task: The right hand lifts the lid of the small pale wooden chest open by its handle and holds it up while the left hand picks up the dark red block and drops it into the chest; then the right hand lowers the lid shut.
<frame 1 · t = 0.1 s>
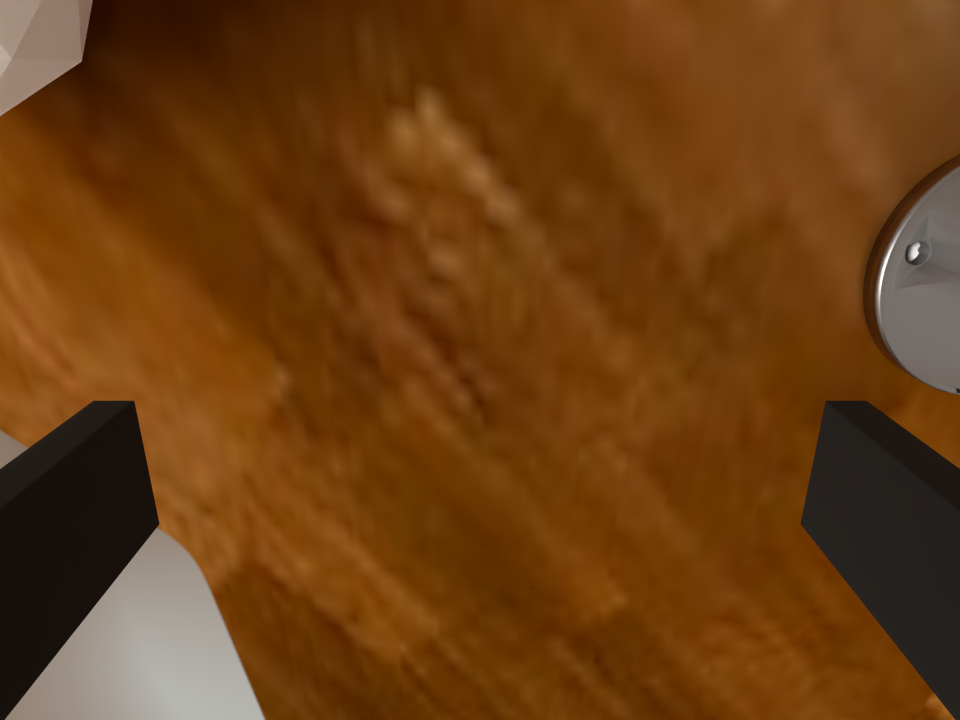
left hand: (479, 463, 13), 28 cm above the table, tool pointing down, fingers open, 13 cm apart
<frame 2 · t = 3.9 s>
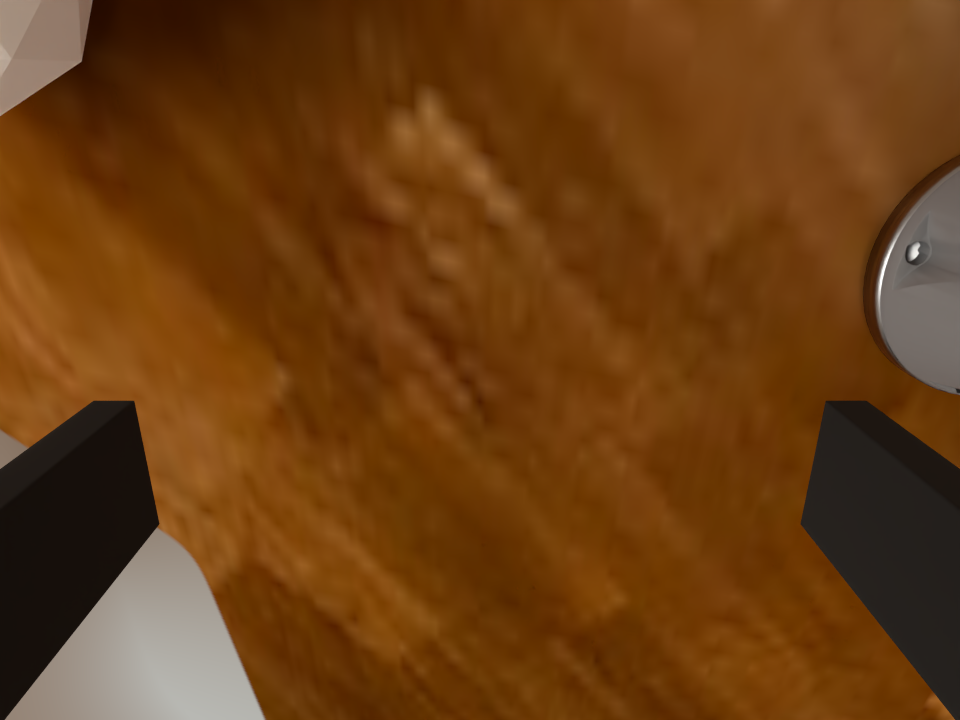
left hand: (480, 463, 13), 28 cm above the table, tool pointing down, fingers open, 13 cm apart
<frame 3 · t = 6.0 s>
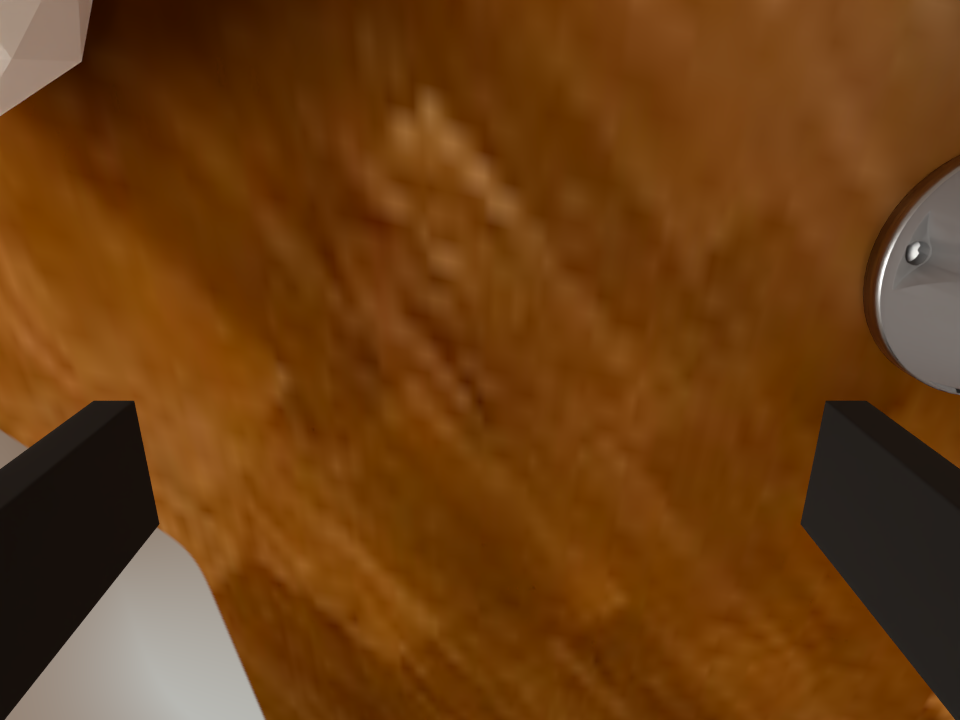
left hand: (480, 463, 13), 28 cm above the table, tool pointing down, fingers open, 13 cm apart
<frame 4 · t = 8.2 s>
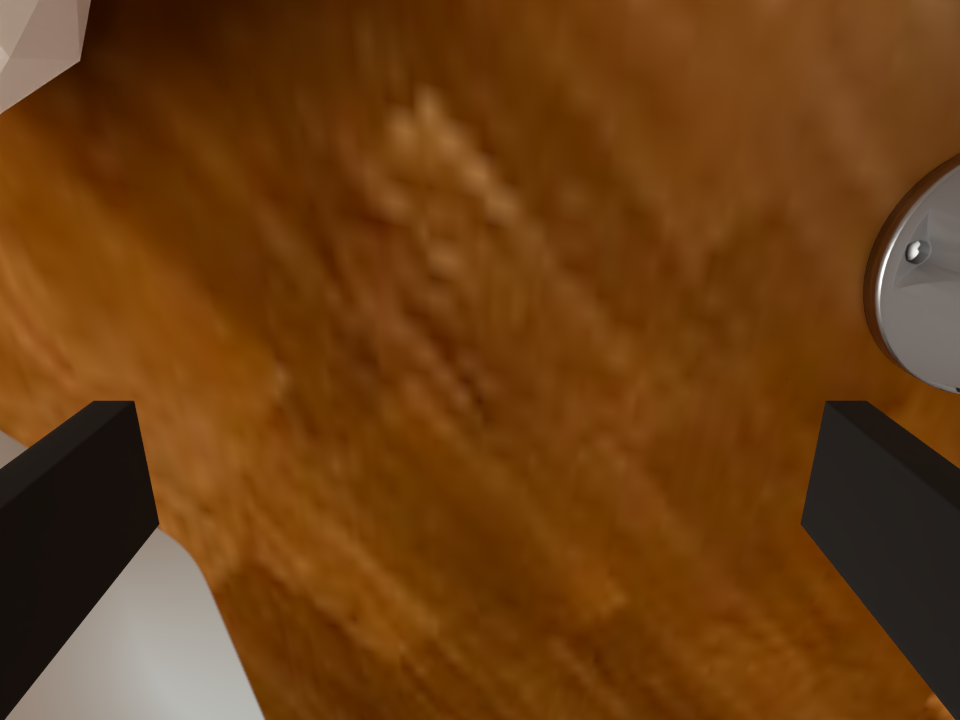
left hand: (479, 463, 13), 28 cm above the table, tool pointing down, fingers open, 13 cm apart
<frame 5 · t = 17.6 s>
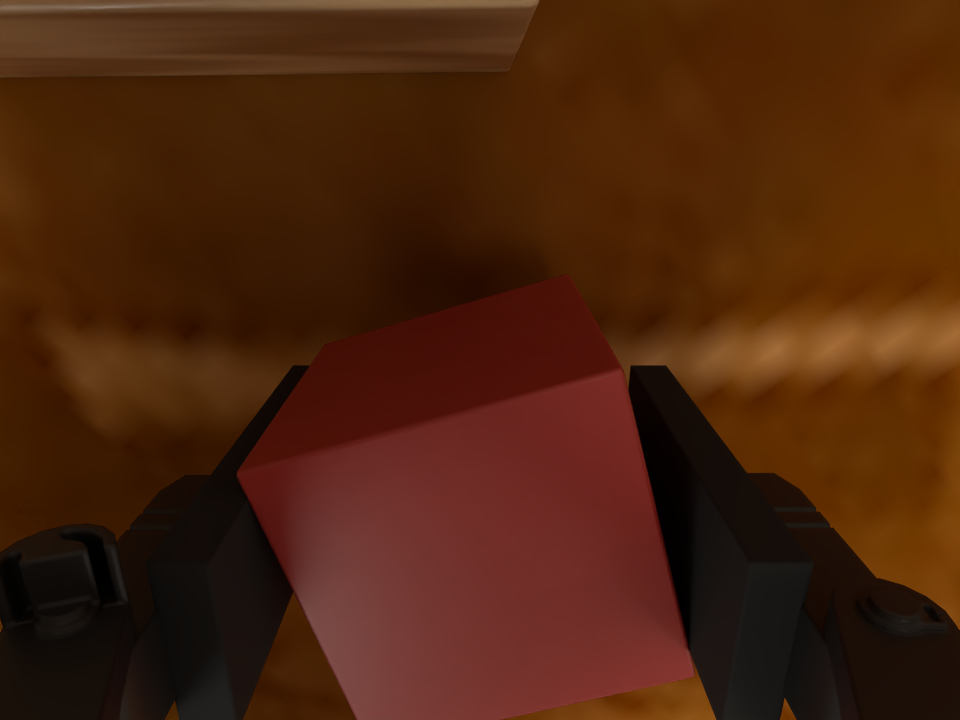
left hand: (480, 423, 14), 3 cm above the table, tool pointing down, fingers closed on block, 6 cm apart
block: (480, 420, 14), point 3 cm above the table, touching left hand
when the left hand's fingers open (17 cm above the table, at t = 20.8 s): block drops 16 cm, resting on chest.
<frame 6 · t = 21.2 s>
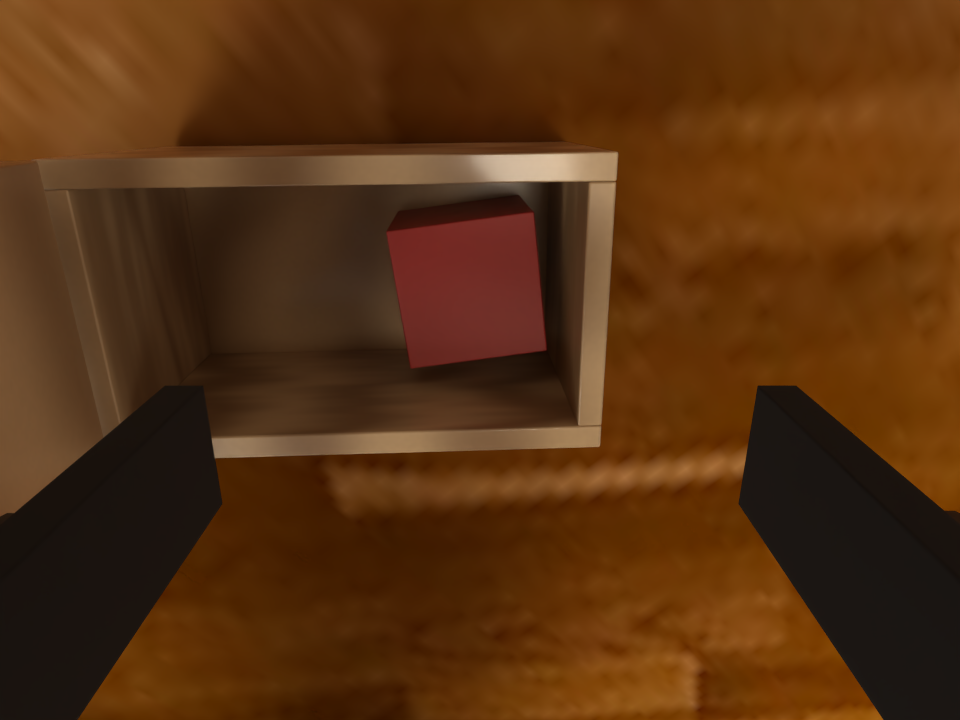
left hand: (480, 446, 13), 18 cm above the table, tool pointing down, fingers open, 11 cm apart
block: (466, 263, 29), point 1 cm above the table, touching chest
chest: (375, 258, 30), on the table, touching block
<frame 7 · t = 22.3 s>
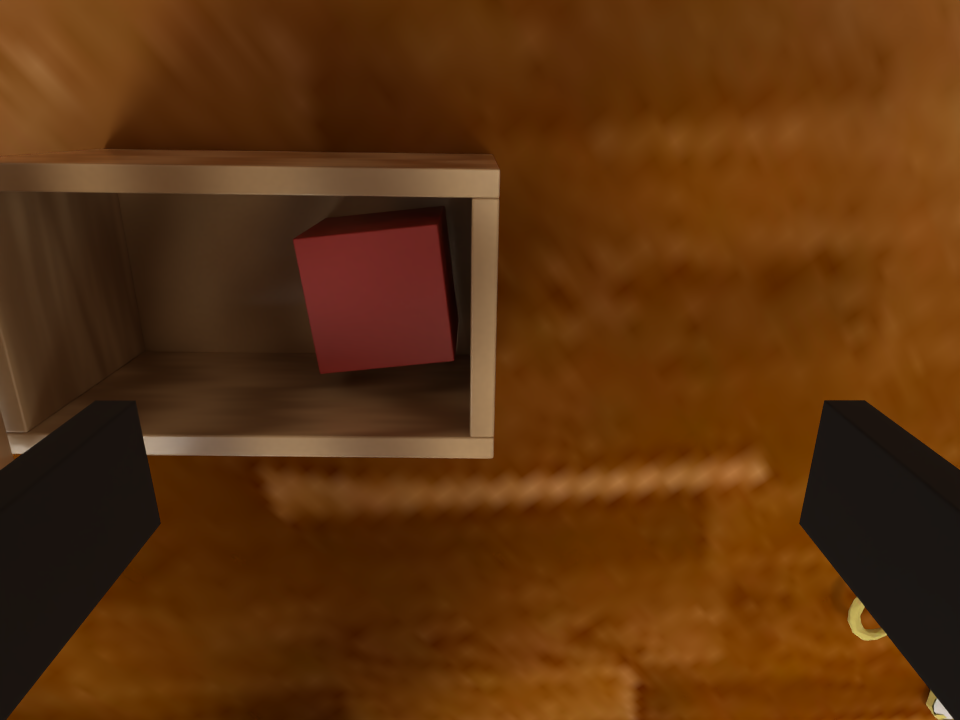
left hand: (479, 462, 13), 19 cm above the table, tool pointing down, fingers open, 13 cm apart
block: (393, 271, 30), point 1 cm above the table, touching chest
chest: (306, 263, 30), on the table, touching block
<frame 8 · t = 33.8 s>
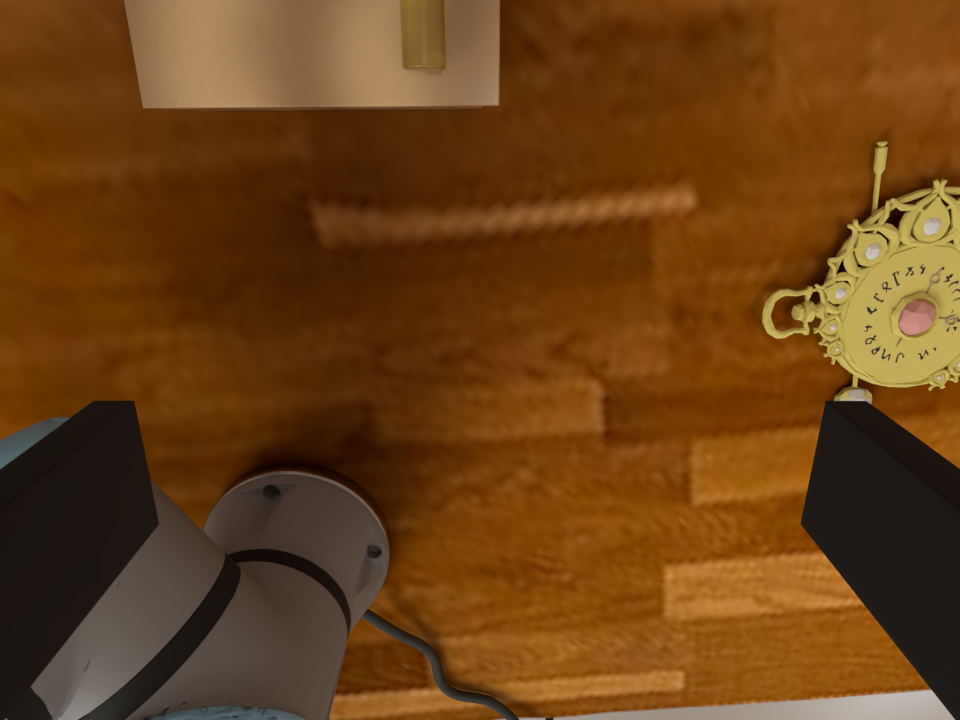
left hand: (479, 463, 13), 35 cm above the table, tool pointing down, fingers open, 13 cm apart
decorative object: (891, 286, 47), on the table
chest: (345, 25, 41), on the table, touching block
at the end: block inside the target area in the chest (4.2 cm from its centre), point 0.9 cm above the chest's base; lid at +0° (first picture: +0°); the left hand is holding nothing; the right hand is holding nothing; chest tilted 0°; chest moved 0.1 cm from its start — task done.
